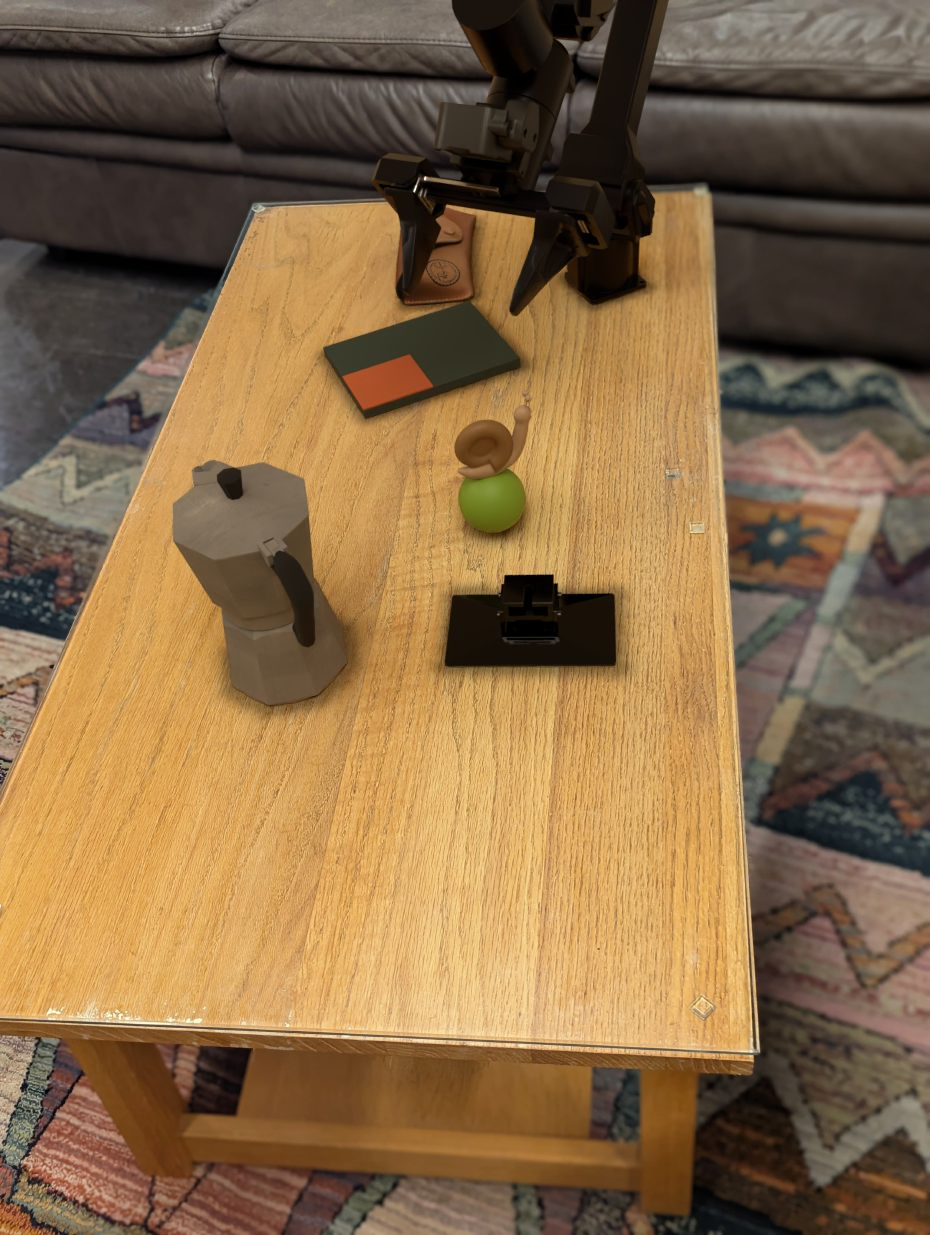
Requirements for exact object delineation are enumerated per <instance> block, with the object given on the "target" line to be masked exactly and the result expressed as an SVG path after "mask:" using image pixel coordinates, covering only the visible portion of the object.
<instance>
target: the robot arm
mask: <svg viewBox="0 0 930 1235" xmlns="http://www.w3.org/2000/svg"><path fill="white" fill-rule="evenodd" d="M669 2H670V0H616V2H615V7H614V10H613V16H612V20H611V24H610V29H609V32H608V37H607V42H606V46H605V50H604V55H603V59H602V63H601V68H600V72H599V77H598V81H597V84H596V90H595V94H594V97H593V102H592V107H591V112H590V115H589V119H588V122H586V124H585V125H584V126H583V127H582V128H581V129H580V131H579V132H578V133H576V132H570V133H568V135H567V137H566V138H565V139H564V141H563V145H562V151H561V157H560V162H559V165H558V168H557V170H556V172H555V173H554V176H553V177H552V178H551V179H549V180H548V182H547V185H546V188H545V191H539V190H535V189H536V187H537V183H538V180H539V178H540V174H541V171H542V168H543V165H544V162H552V159H553V155H554V152H555V148H554V146H553V144H552V142H551V140H552V137H553V134H554V131H555V127H556V125H557V121H558V118H559V115H560V111H561V109H562V106H563V102H564V99H565V97H566V94H574V93H575V92H576V77H575V74H574V68H575V67H574V63H573V60H572V58H571V55H570V53H569V51H568V49H567V47H566V46H565V45H564V44H563V43H562V42H561V41H571V42H572V41H573V42H582V43H584V42H586V43H590V42H592V41H593V40H594V39H595V37H596V36H597V35H598V33H599V32H600V29H601V27H603V26H604V25H605V24H606V22H607V21H608V17H609V13H610V12H611V10H612V8H613V6H614V0H451V9H452V12H453V15H454V17H455V19H456V21H457V23H458V25H459V26H460V28H461V30H462V32H463V34H464V36H465V37H466V39H467V41H468V43H469V45H470V47H471V48H472V50H473V52H474V55H475V56H476V58H477V60H478V62H479V64H480V65H481V67H482V68H483V70H484V71H485V72H487V73H488V74H490V75H492V76H493V78H492V80H491V84H490V87H489V90H488V93H487V95H486V96H487V97H486V99H485V102H480V101H476V103H475V105H473V104H464V103H458V102H457V103H455V102H449V101H442V102H440V103H439V108H438V109H439V110H438V117H437V121H436V122H437V123H436V130H435V136H434V142H433V150H434V151H437V152H441V151H444V152H446V153H448V154H451V155H450V158H449V161H448V162H449V164H450V165H451V167H452V169H453V170H454V171H458V172H460V174H461V176H460V179H456V178H450V177H443V176H442V177H441V176H440V174H439V173H438V172H437V170H436V168H434V166H433V165H432V163H431V162H430V160H429V159H428V158H427V157H424V156H423V157H422V156H416V155H409V154H408V155H407V154H401V153H395V152H394V153H393V152H388V153H387V154H385V155H384V156H382V157H380V159H379V160H378V162H377V163H376V166H375V169H374V172H373V175H372V178H371V181H370V182H371V185H373V186H374V188H375V189H376V190H377V191H378V193H379V194H380V195H381V196H382V197H383V198H384V200H385V201H386V203H388V205H389V206H390V207H391V209H393V211H394V212H395V213H396V214H397V216H398V221H399V227H400V230H401V236H402V268H403V291H404V292H405V293H406V295H408V296H412V295H413V294H414V292H415V290H416V288H417V287H418V285H419V283H420V281H421V278H422V276H423V273H424V271H425V268H426V266H427V263H428V261H429V258H430V256H431V253H432V251H433V248H434V246H435V244H436V241H437V239H438V236H439V234H440V231H441V228H442V227H441V226H440V225H439V224H438V222H437V221H436V219H437V218H439V217H440V216H442V215H443V214H444V211H445V208H446V207H447V206H453V207H459V208H464V209H472V210H478V211H484V212H485V211H486V212H492V213H497V214H503V215H504V214H505V215H509V216H510V215H511V216H518V217H524V218H531V219H534V225H533V235H532V240H531V243H530V245H529V249H528V251H527V254H526V256H525V258H524V259H525V260H524V263H523V265H522V267H521V270H520V272H519V275H518V278H517V281H516V283H515V286H514V288H513V292H512V296H511V298H510V299H511V300H510V303H509V307H508V308H509V309H508V311H509V314H510V315H511V316H512V317H518V316H519V315H520V314H521V313H522V312H523V311H524V310H525V309H526V307H528V305H530V303H531V302H532V301H533V300H534V299H535V298H536V296H537V295H538V294H539V293H540V292H541V291H542V290H543V289H544V288H545V287H546V286H547V285H548V283H549V282H551V280H552V279H553V278H554V277H556V276H557V275H558V274H559V273H560V272H561V271H562V270H564V269H565V268H566V271H565V272H564V273H563V274H564V275H563V278H564V279H565V281H566V282H567V283H568V284H570V285H571V286H572V287H573V288H574V289H575V291H577V292H578V293H579V294H580V295H581V296H582V297H583V298H584V299H585V300H586V301H587V302H588V303H589V304H591V305H596V304H599V303H602V302H606V301H608V300H611V299H614V298H615V299H616V298H617V297H621V296H623V295H627V294H630V293H633V292H636V291H639V290H642V289H645V288H647V280H646V279H644V278H643V277H642V276H641V275H640V242H641V241H640V240H641V238H645V237H650V236H651V235H652V234H653V224H654V222H653V220H654V217H655V214H656V211H655V206H656V198H655V197H654V196H653V194H652V192H651V191H650V189H649V188H648V186H647V185H646V183H645V181H644V180H645V175H646V165H645V162H644V159H643V156H642V153H641V148H640V144H639V143H638V142H639V141H638V138H637V137H638V131H639V127H640V123H641V118H642V114H643V110H644V106H645V103H646V98H647V93H648V90H649V85H650V81H651V76H652V73H653V69H654V65H655V59H656V56H657V51H658V49H659V48H658V47H659V44H660V39H661V35H662V30H663V27H664V22H665V18H666V14H667V10H668V6H669ZM559 40H561V41H559Z"/></svg>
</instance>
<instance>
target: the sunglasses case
mask: <svg viewBox="0 0 930 1235" xmlns="http://www.w3.org/2000/svg"><path fill="white" fill-rule="evenodd" d="M476 220H477V215H476V214H471V213H467V212H463V211H460V210H457V209H453V208H450V207H447V206H446V208H445V211H444V214H443V215H442V216H440V217H439V218H437V219H436V221H437V222H438V224H439V225H440V226H441V227H442V228H441V231H440V234H439V236H438V239H437V241H436V244H435V246H434V248H433V251H432V253H431V256H430V258H429V261H428V263H427V266H426V268H425V271H424V273H423V276H422V278H421V281H420V283H419V285H418V287H417V288H416V290H415V292H414V294H413V295H412V296H408V295H406V293H405V292H404V291H403V268H402V236H401V229H400V231H399V240H398V249H397V257H396V267H395V286H394V289H395V295H396V297H397V298H398V299H399V300H400V301H401V302H402V303H403V304H405V305H407V306H414V305H415V306H417V305H418V306H421V305H423V306H424V305H427V306H429V305H439V304H440V305H441V304H446V303H453V302H459V301H464V300H468V299H471V298H473V297H474V295H475V293H474V282H473V274H472V248H473V247H472V244H473V232H474V229H475V226H476Z"/></svg>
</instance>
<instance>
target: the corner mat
mask: <svg viewBox="0 0 930 1235" xmlns="http://www.w3.org/2000/svg"><path fill="white" fill-rule="evenodd" d="M322 348H323V354H324V358H326V360H327V361H328V363H329V365H330V366H331V368H332V369H333V370H334V372H335V374H336V375H337V377H338V379H339V380H340V382H341V383H342V385H343V387H344V388H345V389H346V391H347V393H348V395H349V396H350V397H351V399H352V400H353V402H354V403H355V404H356V407H357V409H358V410H359V412H360V413H361V415H362V416H363V418H364V419H365V420H367V419H369V418H370V419H371V418H372V417H375V416H378V415H381V414H384V413H386V412H387V413H388V412H391V411H394V410H396V409H400V408H401V407H405V406H408V405H410V404H414V403H417V402H420V401H423V400H426V399H429V398H432V397H435V396H437V395H441V394H444V393H446V392H447V393H448V392H449V391H450V392H451V391H452V390H456V389H459V388H462V387H465V386H467V385H472V384H473V383H478V382H479V381H482V380H486V379H488V378H492V377H494V376H495V377H496V376H498V375H500V374H503V373H506V372H509V371H513V370H515V369H518V368H519V369H520V368H521V367H522V364H521V357H520V356H519V355H518V354H517V353H516V352H515V350H514V349H513V348H512V347H511V346H510V345H509V344H508V343H507V341H506V340H505V339H504V338H503V337H502V336H501V335H500V333H499V332H498V331H497V330H496V329H495V328H494V327H493V325H492V324H491V323H490V322H489V321H488V320H487V318H486V317H485V316H484V315H483V314H482V312H480V311H479V310H478V308H477V307H476V306H475V305H474V303H472V301H471V300H468V301H464V302H461V303H458V304H455V305H452V306H449V307H445V308H442V309H439V310H435V311H432V312H429V313H426V314H424V315H423V314H422V315H419V316H417V317H413V318H411V319H410V318H409V319H408V320H407V319H406V320H404V321H401V322H398V323H395V324H392V325H389V326H386V327H383V328H379V329H376V330H373V331H370V332H366V333H363V334H360V335H357V336H354V337H350V338H348V339H345V340H341V341H338V342H335V343H332V344H329V345H326V346H323V347H322Z"/></svg>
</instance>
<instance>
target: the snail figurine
mask: <svg viewBox="0 0 930 1235" xmlns="http://www.w3.org/2000/svg"><path fill="white" fill-rule="evenodd" d="M521 395H522V397H523V398H524V401H525V404H520V405H518V406H517V407H516V408H515V409H514V410H513V412H512V416H513V419H514V425H513V430H512V434H511V432H510V430H509V429H508V427H507V426H505V425H504V424H503V423H502V422H500V421H498V420H493V419H480V420H476V421H473V422H470V424H468V425H466V426H465V427H463V429H462V430H461V431H460V432H459V434H458V435H457V437H456V438H455V441H454V446H453V447H454V448H453V449H454V454H455V457H456V459H457V460H458V462H460V463H461V464H463V465H464V466H462V467H459V468H458V469H457V473H458V474H459V475H460V476H463V477H465V478H464V479H463V480H462V482H461V484H460V487H459V489H458V495H457V497H458V498H457V501H458V507H459V512H460V513H461V515H462V517H463V519H464V520H465V521H466V522H467V523H468V524H469V525H470V526H471V527H472V528H474V529H476V530H478V531H481V532H484V533H489V534H491V533H492V534H493V533H500V532H503V531H507V530H508V529H510V528H511V527H513V526H514V525H515V524H516V523H517V522H518V521H519V520H520V518H521V517H522V515H523V513H524V511H525V508H526V501H527V495H526V491H525V487H524V486H525V485H524V484H523V482H522V480H521V479H520V478H519V476H518V475H517V474H516V473H515V472H514V471H513V470H511V469H509V468H511V467H512V466H513V465H514V464H515V463H516V462H518V460H519V459H520V457H521V455H522V454H523V451H524V449H525V445H526V442H527V438H528V434H529V433H528V432H529V425H530V421H531V419H532V412H533V410H532V409H531V404H530V403H531V401H532V395H530V393H529V391H528V389H524V390H522V392H521ZM527 403H528V404H527Z"/></svg>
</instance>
